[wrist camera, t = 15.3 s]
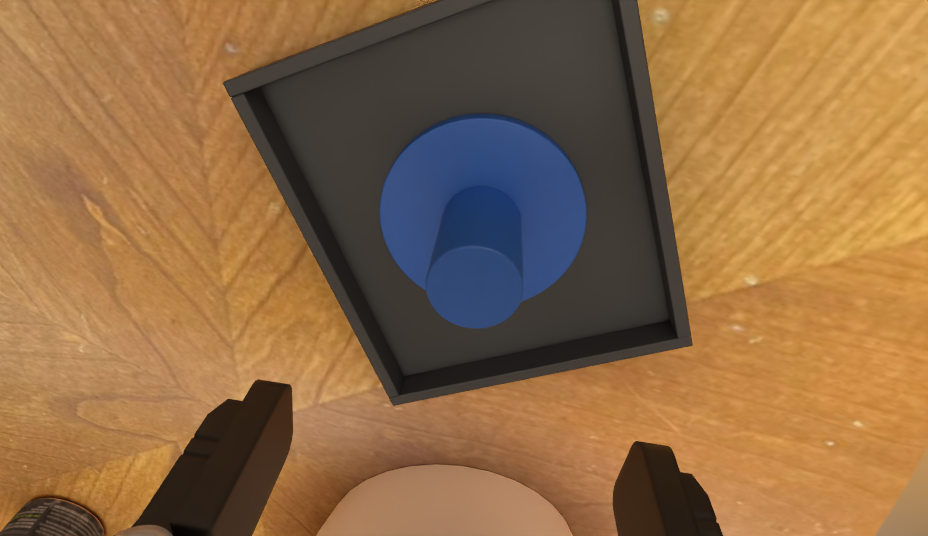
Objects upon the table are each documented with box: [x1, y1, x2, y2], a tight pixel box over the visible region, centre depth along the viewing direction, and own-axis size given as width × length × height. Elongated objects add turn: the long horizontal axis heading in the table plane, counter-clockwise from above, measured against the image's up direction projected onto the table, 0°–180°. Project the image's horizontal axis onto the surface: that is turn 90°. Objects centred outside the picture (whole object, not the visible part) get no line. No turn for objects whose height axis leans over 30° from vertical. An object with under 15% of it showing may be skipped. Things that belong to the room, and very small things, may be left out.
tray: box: [223, 0, 692, 405], centre depth 23 cm, size 17×15×2 cm
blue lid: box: [379, 114, 587, 329], centre depth 21 cm, size 9×9×6 cm
